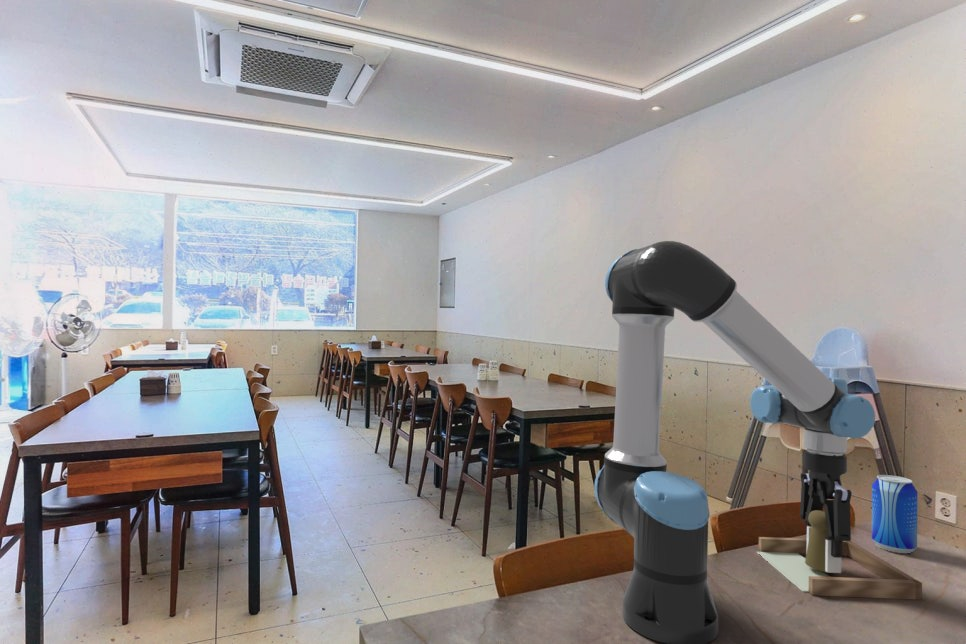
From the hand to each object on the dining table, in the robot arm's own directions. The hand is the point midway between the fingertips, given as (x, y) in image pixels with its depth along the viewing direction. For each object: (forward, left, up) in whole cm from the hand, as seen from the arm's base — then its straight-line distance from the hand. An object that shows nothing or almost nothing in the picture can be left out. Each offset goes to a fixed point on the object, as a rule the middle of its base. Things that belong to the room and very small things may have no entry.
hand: (823, 564), depth 111 cm
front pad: (-5, 0, -2) cm, 5 cm away
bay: (+2, 0, -2) cm, 2 cm away
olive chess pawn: (0, 0, 0) cm, 1 cm away
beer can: (+25, +15, -2) cm, 29 cm away
